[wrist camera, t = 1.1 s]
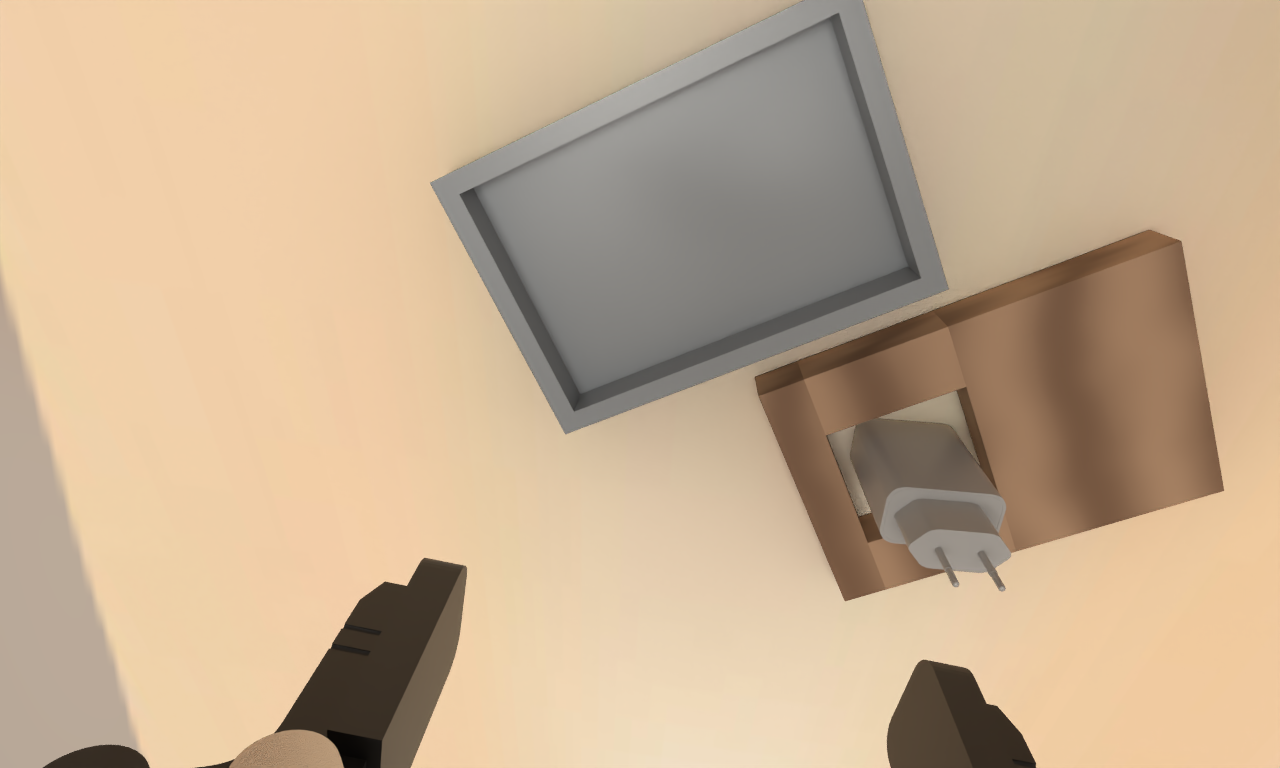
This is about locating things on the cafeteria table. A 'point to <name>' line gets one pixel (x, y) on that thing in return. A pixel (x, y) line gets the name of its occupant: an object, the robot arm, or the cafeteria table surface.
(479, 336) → the cafeteria table surface
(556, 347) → the tray
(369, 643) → the robot arm
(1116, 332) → the dock board
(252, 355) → the cafeteria table surface
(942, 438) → the power adapter
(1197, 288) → the cafeteria table surface
